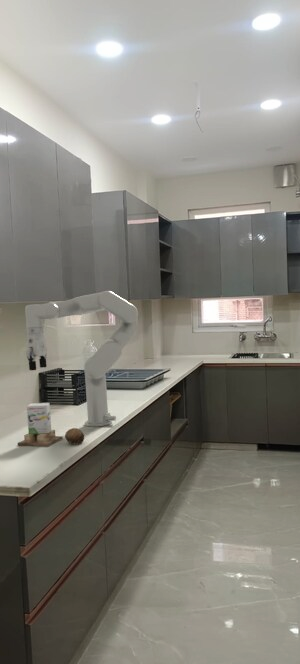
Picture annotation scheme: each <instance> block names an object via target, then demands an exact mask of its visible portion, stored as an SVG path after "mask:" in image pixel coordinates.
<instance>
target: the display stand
mask: <svg viewBox="0 0 300 664" xmlns="http://www.w3.org/2000/svg"><path fill="white" fill-rule="evenodd" d="M23 437H24V439H22V440H20V441H18V442H17V446H19V447H20V446H22V447H43V448H44V447H47V448H48V447H50V446H52V445H54V444H56V443H57V442H59V441H61V440H63V436H60V435H59V436H58V435H56V430H55V429H51V431H50V432H49V433H41V434H29V432H28V433H26V434H24V435H23Z"/></svg>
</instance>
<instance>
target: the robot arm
mask: <svg viewBox="0 0 300 664" xmlns="http://www.w3.org/2000/svg"><path fill="white" fill-rule="evenodd" d="M24 311H25V321H26V323H25V324H26V334H27V335H26V336H27V339H26V340H27V351H26V353H25V354H26V358H27V362H28V368H29V371H36V370H37V361H36V359H37V357H39V359H38V360H39V367H40V368H47V354H48V349H47V341H46V336H45V330H44V329H45V328H44V320H55V319H61V318H65V317H66V318H67V317H71V316H81V315H86V314H93V313H97V312H103V311H107V312H108V313H109V314H110V315H113V316H114V317H116V318H118V319H119V325H118V326H117V327H116V329H115V330H114V331H113V332H112V333H111V334H110V336H108V338H106V340H105V341H104V342H102V344H101V345H100V347H99V348H98V349H97V351H96V352H94V354H93V355H92V356H90V357H88V358H87V359H86V360H85V362H84V365H83V368H84V369H83V370H84V378H85V379H84V381H85V382H84V383H85V394H86V396H85V397H86V409H87V410H86V411H87V412H86V413H87V420H86V421H85V422H84V426H86V427H91V428H92V427H93V428H95V427H96V428H97V427H104V426H108V425H111V424H112V422H113V421H114V422H116V421H117V417H116V415H111V412H109V408H108V407H109V405H108V394H107V393H108V391H107V378H106V376H107V375H106V374H107V372H108V371H110V369H111V368H112V367H113V366H114V365H115V364H116V363H117V362H118V360H119V359H120V358H121V356H122V352H123V350H124V349H125V347H126V346H127V345H128V344H129V343H130V341H131V340H132V339H133V338H134V337H135V335H136V333H137V331H138V325H139V320H138V317H139V311H138V309H137V307H136V306H135V305H134V304H132V303H130V302H128V301H127V300H126V299H124V298H122V297H120V296H119V295H117V294H115V292H113V291H111V290H105V291H101V292H96V293H90V294H86V295H81V296H76V297H73V298H71V299H67V300H63V301H56V302H48V303H43V304H42V303H39V304H38V303H35V304H27V305H26V306H25V308H24Z"/></svg>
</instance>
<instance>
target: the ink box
mask: <svg viewBox="0 0 300 664" xmlns="http://www.w3.org/2000/svg"><path fill="white" fill-rule="evenodd" d="M50 404H51V403H50V402H37V403H36V402H35V403H29V404H28V405H27V406H26V413H27V415H26V416H27V426H28V433H29V434H41V433H49V432H50V431H51V430H52V420H51V419H52V418H51V406H50Z"/></svg>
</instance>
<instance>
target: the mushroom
mask: <svg viewBox="0 0 300 664" xmlns="http://www.w3.org/2000/svg"><path fill="white" fill-rule="evenodd" d="M64 437H65V440H66V441H67V442H68V443H70V444H72V445H79V444H82V443H83V442H84V440H85V435H84V432H83V431H82V430H81V429H79V428H76V427H73V428H70V429H68V430H67V431H66V432H65V435H64Z"/></svg>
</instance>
